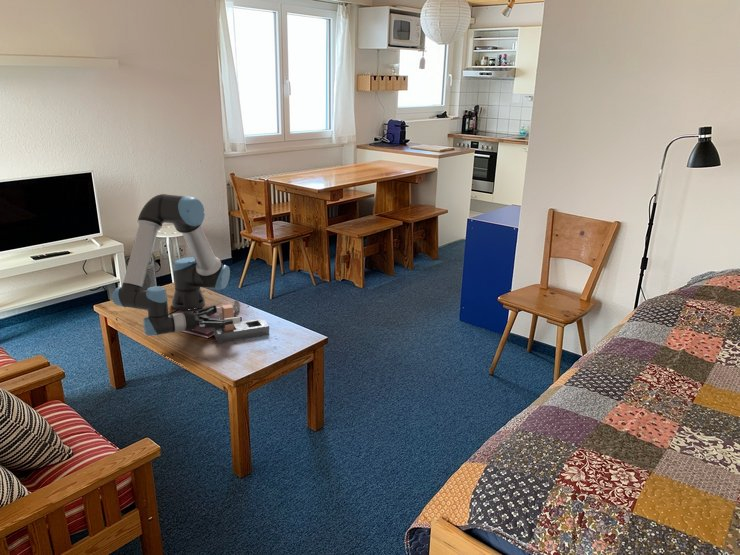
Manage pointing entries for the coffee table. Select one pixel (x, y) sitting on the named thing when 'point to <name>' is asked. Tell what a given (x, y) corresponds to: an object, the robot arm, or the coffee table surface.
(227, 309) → the peg
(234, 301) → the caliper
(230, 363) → the coffee table surface
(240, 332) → the grey peg hole block
